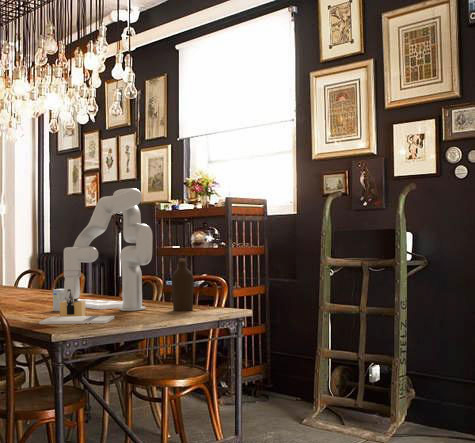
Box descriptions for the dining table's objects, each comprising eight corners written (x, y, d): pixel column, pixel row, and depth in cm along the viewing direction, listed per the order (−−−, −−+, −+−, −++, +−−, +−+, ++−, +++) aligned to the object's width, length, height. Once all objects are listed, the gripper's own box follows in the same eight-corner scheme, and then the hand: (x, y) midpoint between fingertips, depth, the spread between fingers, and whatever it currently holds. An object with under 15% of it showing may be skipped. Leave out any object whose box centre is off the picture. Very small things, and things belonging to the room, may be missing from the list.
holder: (60, 304, 355) (60, 299, 355) (89, 302, 367) (89, 297, 367) (99, 310, 321) (99, 305, 321) (130, 307, 333) (130, 302, 333)
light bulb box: (78, 310, 321) (78, 288, 321) (69, 311, 315) (69, 289, 315) (61, 309, 326) (61, 288, 326) (52, 311, 319) (52, 289, 320)
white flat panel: (52, 319, 285) (52, 316, 285) (114, 318, 284) (114, 315, 284) (39, 324, 269) (39, 320, 269) (105, 323, 268) (105, 320, 268)
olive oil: (182, 311, 304) (182, 259, 305) (167, 310, 311) (166, 259, 312) (198, 309, 312) (197, 258, 313) (183, 308, 319) (182, 258, 320)
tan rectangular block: (64, 316, 296) (63, 300, 296) (85, 316, 296) (85, 300, 296) (59, 317, 290) (59, 302, 290) (81, 317, 290) (81, 301, 290)
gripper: (70, 273, 302) (70, 311, 302) (58, 275, 285) (58, 315, 284) (85, 272, 302) (86, 311, 301) (74, 275, 284) (75, 315, 284)
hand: (72, 313), depth 293 cm, fingers closed on tan rectangular block, 6 cm apart
